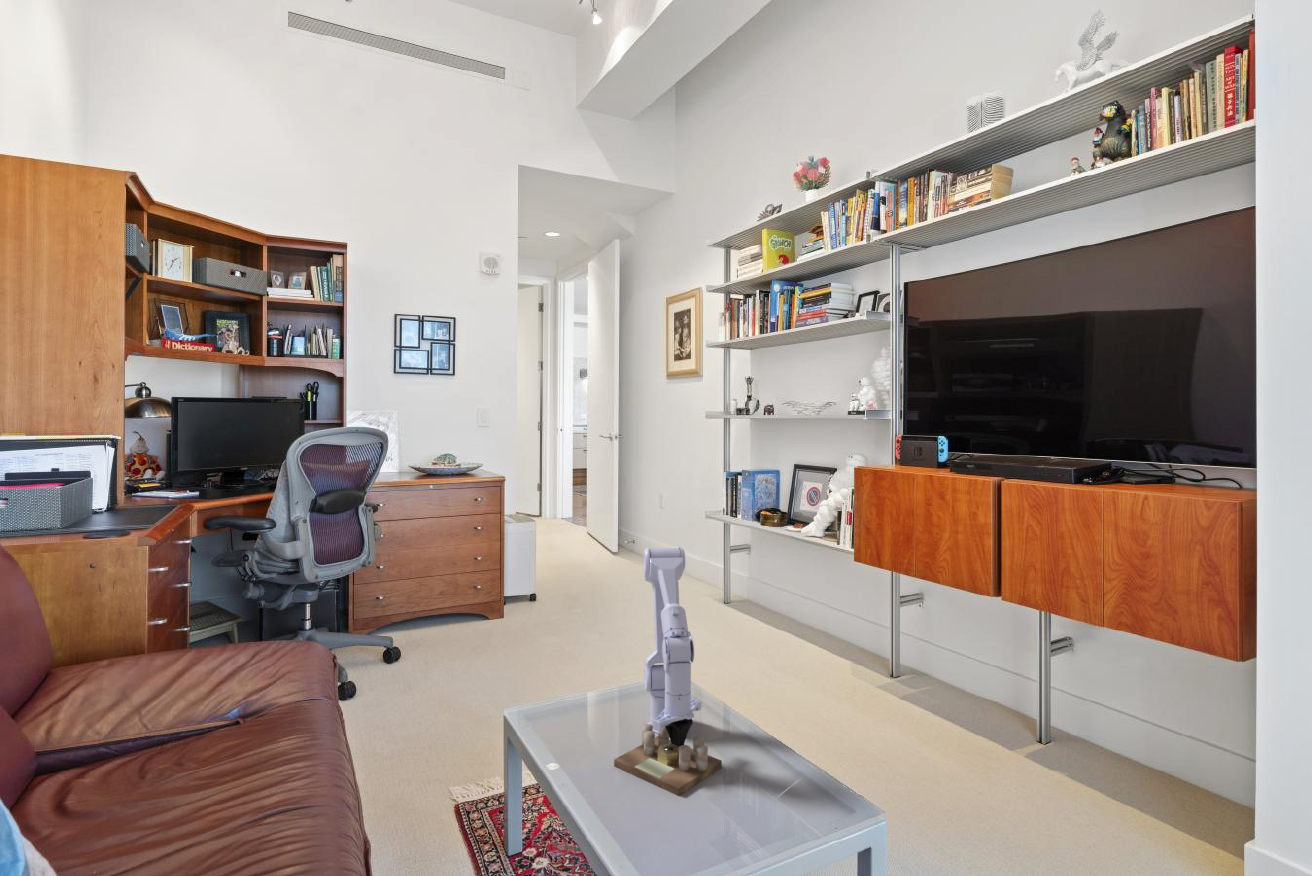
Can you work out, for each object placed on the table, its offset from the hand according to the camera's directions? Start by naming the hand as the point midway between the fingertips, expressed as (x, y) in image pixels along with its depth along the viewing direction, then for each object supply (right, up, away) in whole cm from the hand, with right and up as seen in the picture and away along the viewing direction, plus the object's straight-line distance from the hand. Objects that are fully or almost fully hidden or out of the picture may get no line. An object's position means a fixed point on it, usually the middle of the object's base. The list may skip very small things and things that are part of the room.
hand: (677, 751), depth 154 cm
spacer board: (-2, -2, -2) cm, 4 cm away
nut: (-2, -1, -2) cm, 3 cm away
